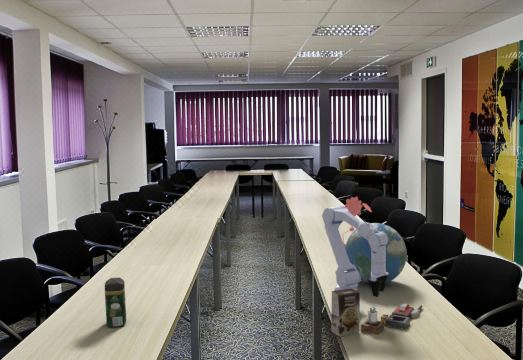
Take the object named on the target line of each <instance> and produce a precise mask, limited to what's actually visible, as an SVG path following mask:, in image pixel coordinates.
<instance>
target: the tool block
mask: <svg viewBox="0 0 523 360" xmlns="http://www.w3.org/2000/svg"><path fill="white" fill-rule="evenodd" d="M388 317H391V318H393V320H391V319H388V318H387V319H386V324H385V327H386V328H387V327H388V328H394V329H401V330H406V329H407V328H408V326H409V325H410V319H409V317H403V316H397V315H392V314H390V315H388Z"/></svg>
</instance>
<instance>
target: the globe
mask: <svg viewBox="0 0 523 360" xmlns="http://www.w3.org/2000/svg"><path fill="white" fill-rule="evenodd" d="M369 223H370V222H369ZM370 225H371V226H372V227H374V228H375V229H378V231H380V232H381V231H384V232H385V233H386V234H387V235H388V237H389V242H388V244H387V245H386V272H388V274H389V276H388V278H387V280H386V283H390V282H391V281H393V280H395V279H397V277H399V275H400V274H401V273H402V272H403V270H404V268H405V266H406V262H407V257H408V255H407V253H408V252H407V246H406V244H405V240H404V239H403V237H402V236H401V234H399V232H398V231H397V230H396V229H394V227H391V226H390V225H387V224H384V223H379V222H372V223H370ZM354 230H355V231H352V233H350V235H349V237H348V238H347V241H346V243H345V244H346V246H345V250H346V253H347V255H348V258H349V261H350V263H351V264H353V265H354V266H355V267H356V269H357V271H358V272H359V273H360V276H361V280H360V282H361V281H362V283H366V284H369V283H368V279H371V247H370V244H369V242H368V240H367V239H365V238H364V237H363V236H361V235H360V234H358V232H357V229H356V228H355V229H354ZM386 283H385V284H386Z"/></svg>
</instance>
